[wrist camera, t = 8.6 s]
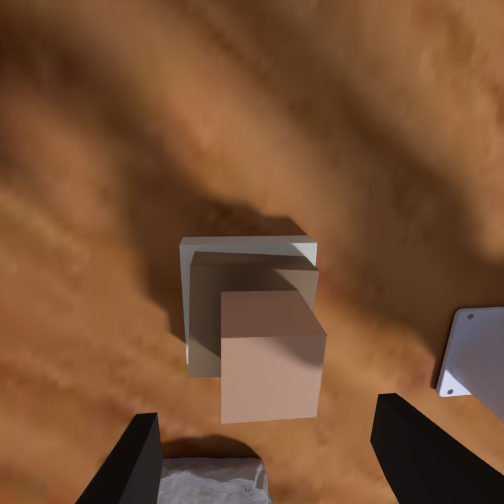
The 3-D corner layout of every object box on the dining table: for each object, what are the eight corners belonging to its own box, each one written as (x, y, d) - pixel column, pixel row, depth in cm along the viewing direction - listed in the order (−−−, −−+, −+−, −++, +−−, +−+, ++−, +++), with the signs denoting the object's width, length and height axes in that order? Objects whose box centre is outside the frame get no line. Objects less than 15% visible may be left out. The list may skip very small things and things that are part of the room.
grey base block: (305, 233, 19) (317, 242, 16) (297, 335, 21) (307, 357, 19) (184, 234, 18) (179, 245, 15) (191, 341, 20) (187, 364, 18)
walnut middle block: (305, 256, 16) (319, 271, 14) (291, 349, 18) (302, 376, 16) (194, 250, 16) (189, 265, 13) (192, 348, 17) (187, 377, 15)
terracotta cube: (298, 290, 14) (326, 334, 10) (292, 355, 15) (316, 417, 12) (221, 291, 14) (221, 338, 10) (220, 359, 15) (221, 423, 11)
